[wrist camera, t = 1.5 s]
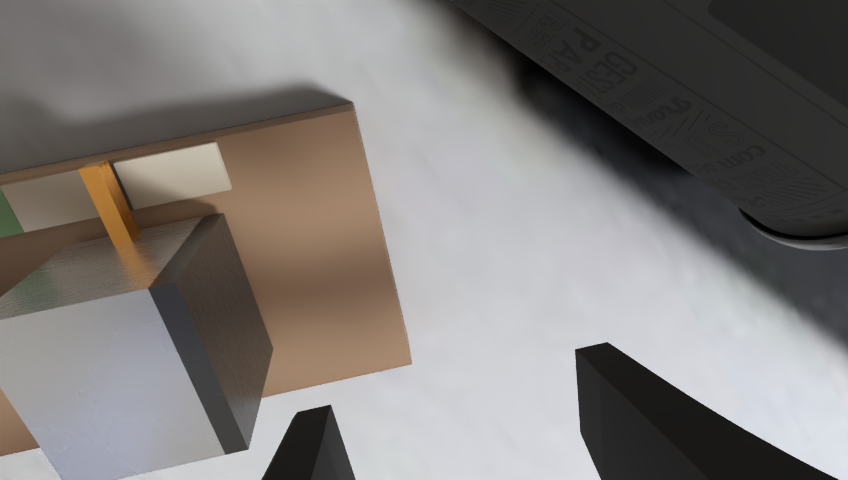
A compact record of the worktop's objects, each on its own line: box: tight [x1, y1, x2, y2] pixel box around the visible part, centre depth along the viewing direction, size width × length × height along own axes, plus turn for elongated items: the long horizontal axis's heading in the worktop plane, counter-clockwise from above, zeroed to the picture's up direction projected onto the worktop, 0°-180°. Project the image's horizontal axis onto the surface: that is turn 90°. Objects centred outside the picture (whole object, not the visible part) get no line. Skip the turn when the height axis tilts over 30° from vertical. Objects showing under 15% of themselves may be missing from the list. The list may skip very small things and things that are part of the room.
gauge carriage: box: [0, 160, 274, 480], centre depth 14 cm, size 7×5×4 cm, turn 10°
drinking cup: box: [449, 0, 848, 250], centre depth 14 cm, size 8×8×20 cm
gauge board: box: [0, 103, 412, 456], centre depth 15 cm, size 9×18×6 cm, turn 100°
